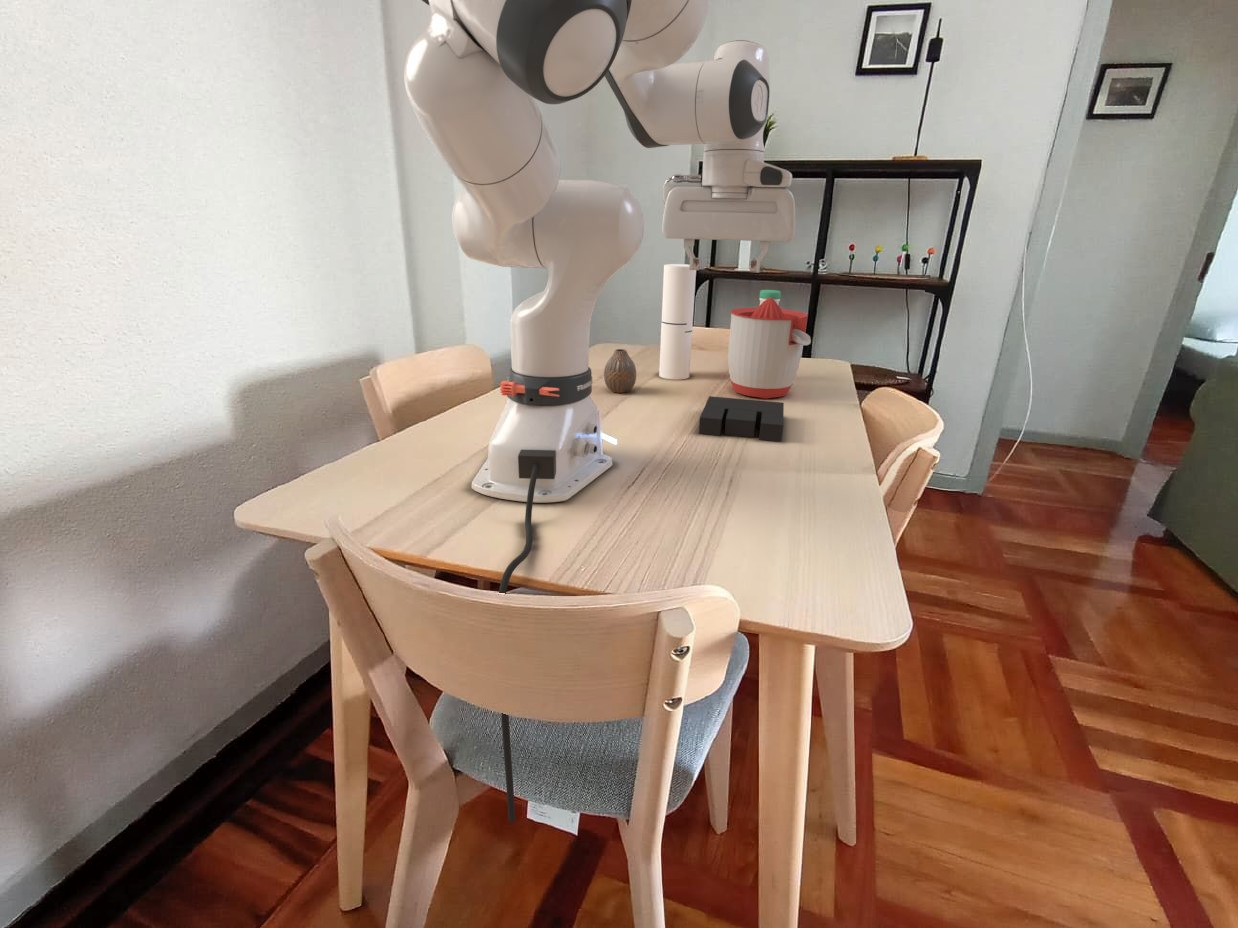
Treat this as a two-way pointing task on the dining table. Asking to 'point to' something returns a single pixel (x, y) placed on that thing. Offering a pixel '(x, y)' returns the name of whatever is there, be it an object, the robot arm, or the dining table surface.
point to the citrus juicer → (765, 349)
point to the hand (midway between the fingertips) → (724, 271)
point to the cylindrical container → (677, 321)
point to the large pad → (766, 416)
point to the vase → (620, 372)
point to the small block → (740, 423)
